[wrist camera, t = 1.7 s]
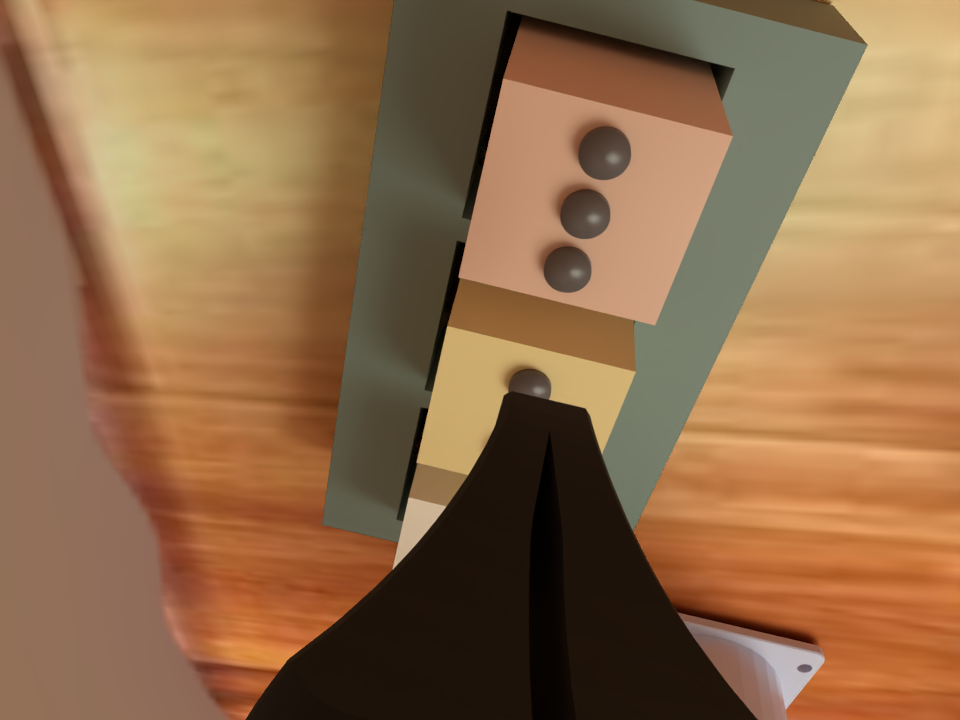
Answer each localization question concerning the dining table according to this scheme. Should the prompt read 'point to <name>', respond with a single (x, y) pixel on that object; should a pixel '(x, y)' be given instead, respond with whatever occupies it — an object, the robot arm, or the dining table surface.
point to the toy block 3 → (521, 367)
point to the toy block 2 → (595, 170)
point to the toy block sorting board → (453, 190)
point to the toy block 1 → (426, 504)
